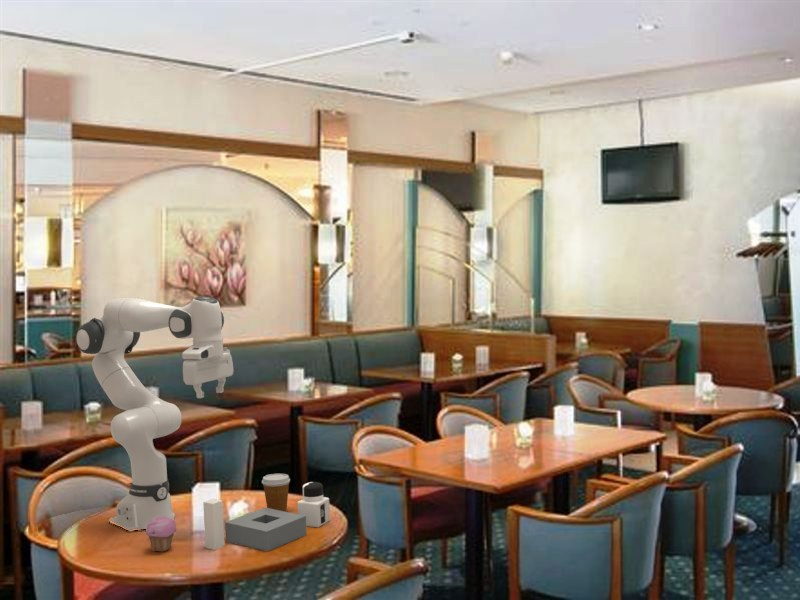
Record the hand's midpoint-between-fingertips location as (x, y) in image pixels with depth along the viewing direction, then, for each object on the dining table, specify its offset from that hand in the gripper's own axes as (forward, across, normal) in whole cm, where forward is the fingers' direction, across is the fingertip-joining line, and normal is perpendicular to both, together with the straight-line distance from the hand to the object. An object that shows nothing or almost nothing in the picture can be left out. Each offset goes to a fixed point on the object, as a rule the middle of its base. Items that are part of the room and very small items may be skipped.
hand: (210, 395), depth 276 cm
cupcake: (+46, +13, -10) cm, 48 cm away
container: (+46, -26, +19) cm, 56 cm away
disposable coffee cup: (+46, -32, +1) cm, 56 cm away
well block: (+45, -8, +13) cm, 48 cm away
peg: (+45, +5, +3) cm, 46 cm away
